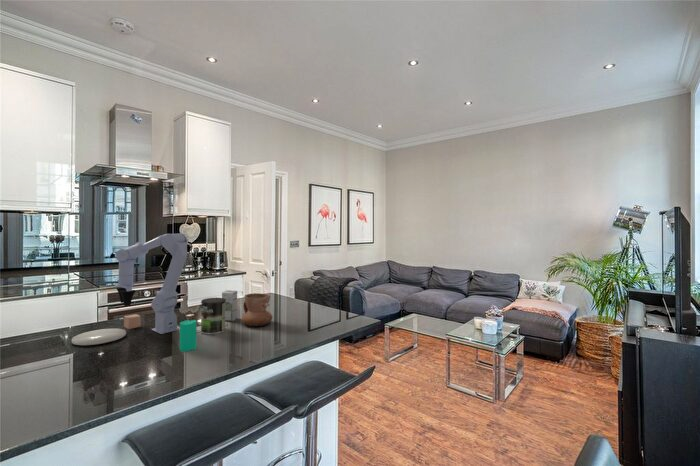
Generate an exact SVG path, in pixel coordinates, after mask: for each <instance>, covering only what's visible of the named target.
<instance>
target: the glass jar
mask: <svg viewBox="0 0 700 466" xmlns="http://www.w3.org/2000/svg"><path fill="white" fill-rule="evenodd" d="M200 302H201V303H200V304H201V313H200V314H201V315H200V316H201V319H200V321H201V322H200V323H201V325H200V333H201V334H202V333H204V334H203V335H217V333H218V334H221V332H222V333H224V332H225V331H226V321H225V302H226V299H224V298H222V297H207V298H203V299H201V301H200Z"/></svg>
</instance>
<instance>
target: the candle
mask: <svg viewBox="0 0 700 466" xmlns="http://www.w3.org/2000/svg"><path fill="white" fill-rule="evenodd" d="M197 321H198V320H196V319H192V320H190V319H189V317H187V319H186V320H183V321H180V322H179V351H180V350H181V351H180V352H185V351H186V352H191V351H190V350H192V351H194V350H193V349H195V348H196V349H197V324H198V323H197ZM196 349H195V350H196Z"/></svg>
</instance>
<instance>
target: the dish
mask: <svg viewBox="0 0 700 466" xmlns="http://www.w3.org/2000/svg"><path fill="white" fill-rule="evenodd" d="M125 336H127V330H125V329H123V328H101V329H96V330H89V331H85V332H82V333H79V334H77V335H75V336H73V337H72V338H71V343H72V345H76V346H92V345H93V346H95V345H100V344H106V343H110V342H115V341H118V340H119V339H122V338H124V337H125Z"/></svg>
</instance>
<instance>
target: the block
mask: <svg viewBox="0 0 700 466" xmlns="http://www.w3.org/2000/svg"><path fill="white" fill-rule="evenodd" d="M141 317H142V316H141V315H139V314H137V313H136V314H135V313H134V314H129V315H124V316H123V327H124V328H125V329H128V330H130V329H135V328H140V327H141V324H142V321H141V319H142V318H141Z"/></svg>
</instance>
